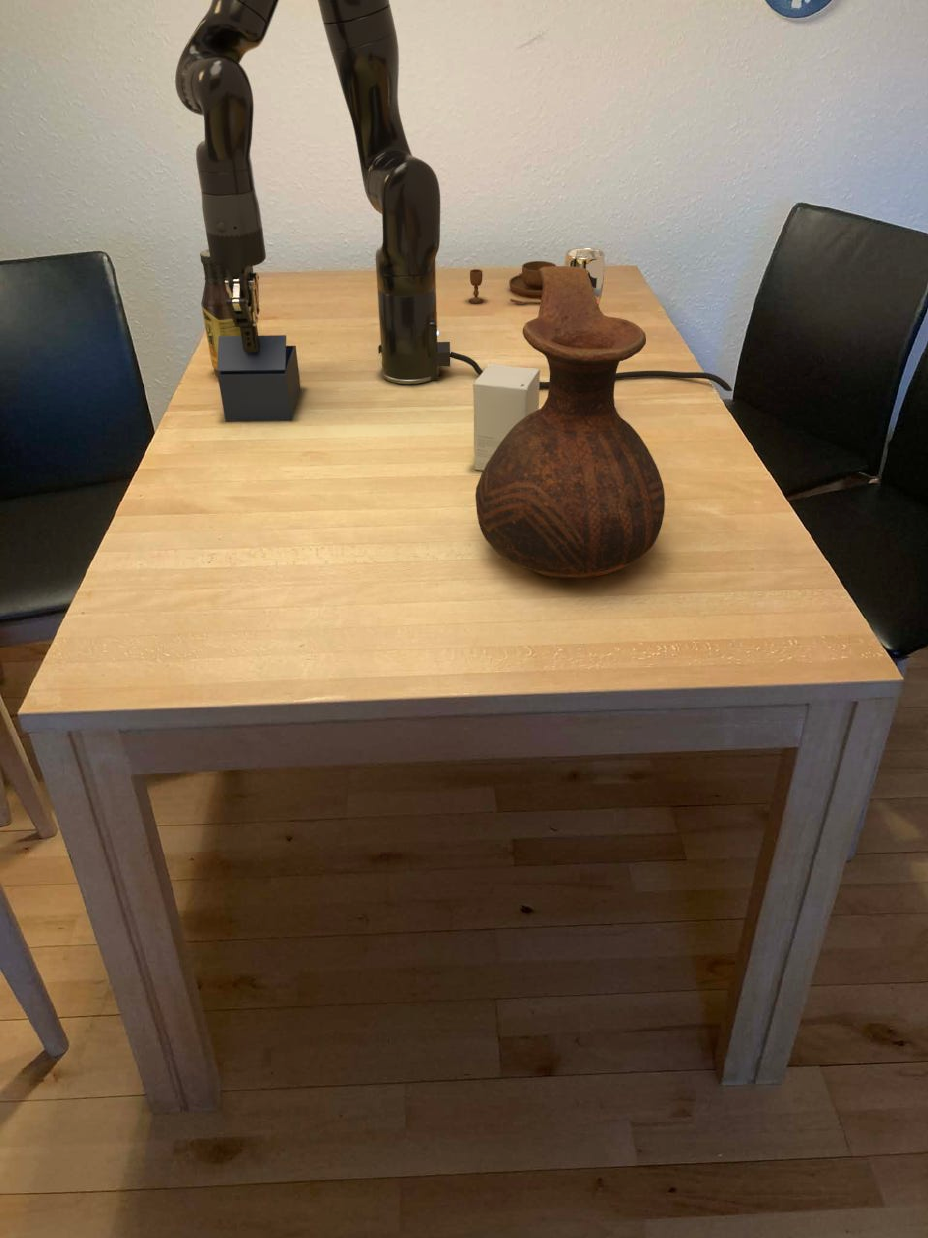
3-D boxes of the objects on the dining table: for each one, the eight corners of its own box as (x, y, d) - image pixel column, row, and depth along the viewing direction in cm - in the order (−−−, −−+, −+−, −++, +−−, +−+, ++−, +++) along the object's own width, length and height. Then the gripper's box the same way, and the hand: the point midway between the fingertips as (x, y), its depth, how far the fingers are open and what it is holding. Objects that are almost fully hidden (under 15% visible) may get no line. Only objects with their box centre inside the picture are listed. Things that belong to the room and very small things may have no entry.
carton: (300, 389, 150) (295, 345, 146) (291, 420, 141) (286, 374, 137) (238, 390, 150) (231, 346, 146) (225, 421, 141) (217, 375, 136)
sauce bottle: (216, 367, 158) (195, 245, 146) (253, 365, 158) (236, 244, 146) (211, 382, 153) (189, 257, 141) (249, 381, 153) (231, 255, 141)
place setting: (571, 304, 183) (572, 273, 179) (468, 304, 183) (468, 274, 179) (564, 277, 197) (566, 248, 193) (469, 277, 197) (469, 248, 193)
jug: (687, 535, 114) (727, 286, 96) (611, 626, 99) (641, 352, 81) (531, 489, 123) (541, 255, 105) (441, 566, 109) (434, 309, 91)
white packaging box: (538, 454, 131) (542, 368, 124) (524, 478, 126) (527, 389, 118) (488, 447, 133) (489, 361, 126) (472, 470, 128) (471, 382, 120)
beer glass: (597, 347, 164) (604, 259, 155) (557, 344, 165) (562, 257, 156) (600, 333, 170) (607, 248, 161) (562, 331, 171) (567, 246, 162)
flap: (286, 336, 138) (286, 334, 137) (285, 370, 136) (285, 369, 136) (219, 337, 138) (218, 335, 137) (217, 371, 136) (217, 370, 136)
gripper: (254, 238, 121) (271, 367, 131) (268, 212, 131) (283, 333, 142) (195, 239, 121) (218, 368, 131) (214, 213, 131) (233, 334, 142)
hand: (252, 350), depth 136 cm, fingers closed
